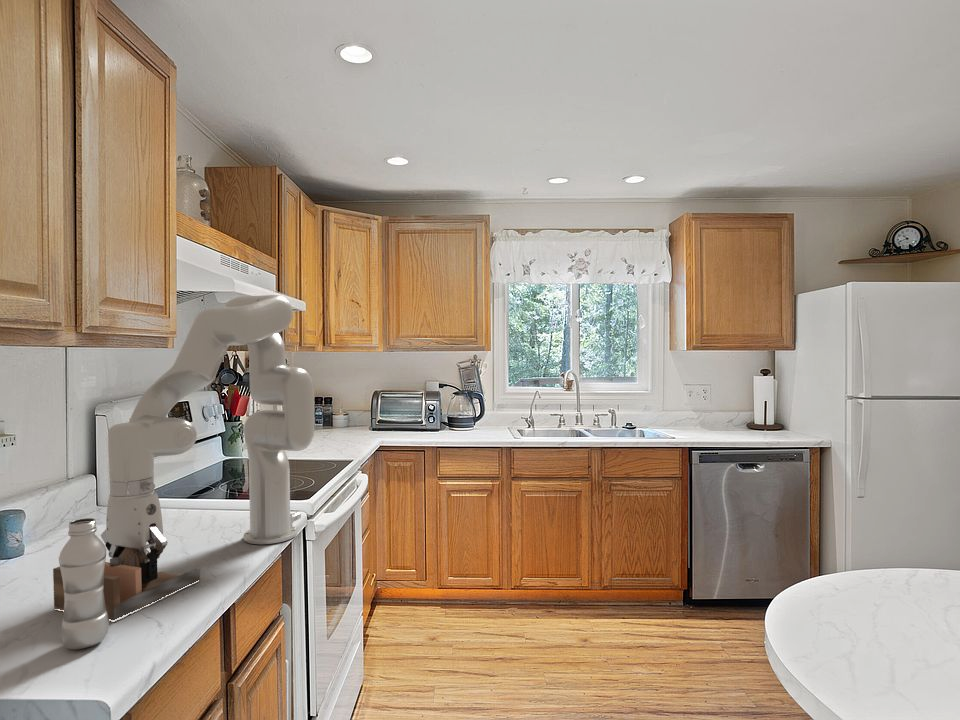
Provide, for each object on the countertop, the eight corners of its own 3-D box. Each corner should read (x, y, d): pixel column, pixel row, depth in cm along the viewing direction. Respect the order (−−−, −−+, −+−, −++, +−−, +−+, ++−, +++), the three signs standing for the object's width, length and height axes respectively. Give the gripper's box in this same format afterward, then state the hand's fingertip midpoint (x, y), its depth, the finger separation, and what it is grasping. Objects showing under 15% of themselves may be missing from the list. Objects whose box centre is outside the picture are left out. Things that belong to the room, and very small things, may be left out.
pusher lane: (144, 572, 127) (144, 536, 127) (200, 581, 122) (199, 544, 122) (54, 610, 109) (53, 568, 109) (114, 622, 104) (113, 579, 104)
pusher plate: (97, 592, 116) (96, 553, 115) (142, 601, 111) (141, 560, 111) (89, 595, 114) (88, 556, 114) (135, 604, 110) (134, 564, 110)
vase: (108, 597, 112) (107, 550, 112) (120, 582, 119) (119, 539, 119) (149, 592, 114) (148, 547, 114) (159, 579, 121) (157, 535, 120)
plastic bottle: (118, 633, 100) (115, 514, 100) (93, 654, 94) (90, 527, 93) (78, 634, 100) (75, 515, 100) (50, 655, 93) (47, 528, 93)
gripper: (182, 486, 116) (184, 577, 117) (117, 479, 122) (119, 566, 123) (149, 495, 109) (151, 592, 110) (81, 488, 115) (84, 579, 116)
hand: (134, 577), depth 117 cm, fingers closed on vase, 6 cm apart
